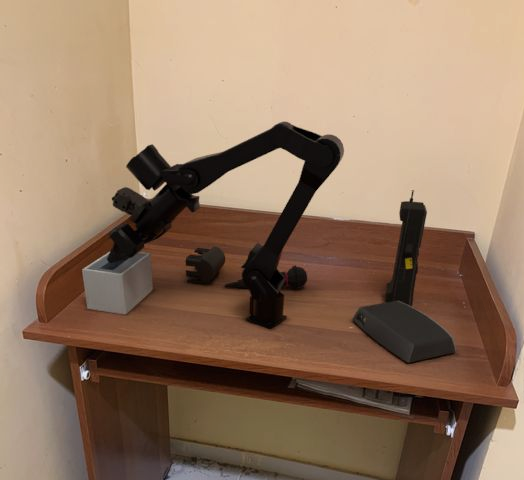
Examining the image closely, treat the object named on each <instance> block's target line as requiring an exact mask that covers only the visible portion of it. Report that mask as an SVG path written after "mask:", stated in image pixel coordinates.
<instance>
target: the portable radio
mask: <svg viewBox="0 0 524 480" xmlns="http://www.w3.org/2000/svg"><path fill="white" fill-rule="evenodd" d="M414 192H415V190H414V189H412V190H411V196H410V198H409V200H407V201H405V200H404V201H401V202H400V207H399V212H398V214H399V221H400V222H401V226H400V233H399V237H398V238H399V239H398V243H397V250H396V255H395V261H394V266H393V272H392V277H391V281H390V282H387V283H386V287H385V292H384V293H385V294H384V303H387V302H393V301H400V302H403V303H405V304H407V305H409V306H411V307H413V302H414V292H415V286H416V279H417V275H418V271H419V261H418V259H419V256H420V249H421V245H422V242H423V241H422V240H423V235H424V230H425V226H426V220H427V214H428V210H427V207H426V205H425V204H424V202H421V201H414V198H413V197H414Z"/></svg>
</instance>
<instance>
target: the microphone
mask: <svg viewBox="0 0 524 480" xmlns="http://www.w3.org/2000/svg"><path fill="white" fill-rule="evenodd" d="M280 272H281V274H282V275H283V276H284V277H285V278H286V281H285V283H284V285H283V287H286V286H288V287H290V288H293V289H294V290H295V291H296V290H299V289H300V288H303V287H304V286H305V285H306V284H307V282H308V273H307V271H306V270H305V268H304V267H300V266H297V265H292V267H290V268H289V269H288V270H287V272H286V271H280ZM224 288H237V289H249V288H248V287H247V286H246V285H245V283H244V282H243V279H242V278H240V279H237V280H236V281H231V282H228V283H225V284H224Z"/></svg>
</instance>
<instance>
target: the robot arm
mask: <svg viewBox="0 0 524 480" xmlns="http://www.w3.org/2000/svg"><path fill="white" fill-rule="evenodd" d="M278 149H282V150H284V151H286V152H288V153H289V154H291V155H293V156H294V157H296V158H297V159H299V160H302V161H304V162H303V165H302V169H301V172H300V176H299V179H298V182H297V184H296V185H295V188H294V189H293V191H292V193H291V195H290V196H289V199H288V200H287V202H286V204H285V206H284V208H283V209H282V210H281V211H282V212H281V213H280V215H279V216H278V219H277V221H276V222H275V224H274V225H273V228H272V230H271V231H270V233H269V234H268V237H267V238H266V240H265V242H264V243H263V244H261V243H260V242H259V241H256V243H255V244H254V246H253V247H252V248H251V249H250V250H249V253H248V256H247V259H245V261H244V262H243V264H242V265H241V266H240V268H241V269H242V272H241V279H243V282H244V283H245V285H246V286H247V287H248V288H247V289H248V290H249V294H250V297H249V306H248V307H249V308H248V314H249V315H248V316H247V317H246V318H245V320H246V322H250V323H253V324H256V325H259V326H261V327H264V328H267V329H273V328H274V327H276V326H277V325H279V324H280V323H283V322H284V321H285V320H287V317H288V315H286V314H284V306H285V305H284V304H285V294H284V293H282V291H281V290H282V288H283V287H284V286H283V285H284V283H285V281H286V278H285V277H284V276H283V275H282V274H281V272H282V271H280V270H279V269H278V267H279V263H280V261H281V258H282V254H283V250H284V248H285V246H286V244H287V243H288V241H289V239H290V237H291V236H292V234H293V232H294V230H296V229H295V228H296V227H297V225H298V224H299V221H300V220H301V218H302V217H303V215H304V213H305V211H306V210H307V208H308V206H309V204H310V203H311V201H312V200H313V197H314V196H315V194H316V192H317V191H318V190H319V189H320V187H321V186H322V185H323V184H324V183H325V182H326V181H327V179H328V178H329V177H330V175H332V173H333V172H334V171H335V170H336V168H337V167H338V166H339V165H340V162H341V161H342V159H343V157H344V154H345V148H344V143H343V142H342V140H341V139H340V138H339V137H338V136H337V135H334V134H324V135H321V134H319V133H317V132H313V131H310V130H308V129H304V128H302V127H299V126H296V125H294V124H292V123H291V122H289V121H280V122H278V123H276V124H274V125H273V126H272V127H271V128H269V129H267V130H265V131H262V132H260V133H258V134H257V135H254V136H252V137H250V138H248V139H246V140H243V141H242V142H240V143H238V144H236V145H234V146H232V147H230V148H228V149H225V150H223V151H219V152H215V153H211V154H206V155H202V156H199V157H195V158H193V159H191V160H189V161H186V162H184V163H176V164H174V165H172V166H171V164H169V162H168V161H167V160H166V159H165V158H164V157H163V155H162V154H161V153H160V152H159V150H158V149H157V148H156V146H155V145H154V144H148V145H146V147H145V148H144V149H142V150H141V151H140V152H139V153H137V154H136V155H135V156H133V157H132V158H131V159H130V160H129V161H128V162H127V164H126V166H125V167H126V169H127V170H128V171H129V172H130V173H131V174H132V176H133V177H134V178H135V179H136V180H137V181H138V182H139V183H140V184H141V186H142V187H143V188H144V189H145V190H146V191H150V190H151V189H152V190H153V191H157V190H158V189H159V188H161V187H162V186H163V185H164V184H165V185H164V186H163V187H162V188H161V189H160V190H159V191H158V192H157V193H156V194H155V195H154V196H153V197H152V198H150V200H148V199H147V198H146V197H145V196H144V195H142V194H140V193H139V192H137V191H135V190H133V189H132V188H130V187H127V186H125V187H122V188H119V189H118V190H117V191H116V192H115V194H114V196H112V197H111V201H112V206H113V207H114V208H115V209H118V210H119V211H121V212H122V213H125V214H127V215H129V218H128V219H129V220H130V222H131V223H132V224H134V228H136V229H134V228H133V227H132V226H131V225H130V224H129V223H124V222H121V223H120V224H118V225H116V226H115V227H113V229H111V231H110V232H109V233H108V237H109V238H110V240H112V242H113V244H112V246H111V249H110V251H109V252H110V253H109V255H108V257H107V261H108V262H109V263H113V262H116V261H119V260H123V259H126V258H132V257H133V256H135V255H136V254H137V253H139V252H142V250H143V249H145V244H148V243H151V242H153V241H155V240H159V238H161V237H163V236H164V235H165V234H166V233H168V232H169V231H170V230H171V229H172V223H173V222H174V221H175V220H176V218H177V217H178V216H179V215H180V214H182V212H183V211H184V210H185V209H186V208H187V209H188V210H189V211H190V212H191V213H195V212H196V211H198V210H199V209H200V208H201V205H200V198H201V197H200V195H195V194H198V193H200V192H202V191H203V190H205V189H206V188H208V187H210V186H211V185H212V184H214V183H215V182H217V181H218V180H219V179H221V178H222V177H224V176H225V175H226V174H227V173H229V172H231V171H233V170H235V169H237V168H240V167H241V166H243V165H246V164H248V163H250V162H252V161H255V160H256V159H259V158H261V157H263V156H265V155H267V154H270V153H272V152H274V151H276V150H278Z"/></svg>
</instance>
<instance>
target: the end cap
mask: <svg viewBox="0 0 524 480" xmlns="http://www.w3.org/2000/svg"><path fill="white" fill-rule="evenodd" d="M193 253H195V254H189V255H187V256H186V258H185V266H186V267H192V268H193V267H194V270H188V269H186V270H185V277H186V278H187V279H186V283H188V284H197V285H205V284H207V283H208V282H210V281H211V280H212V279H213V277H215V276H216V275H217V273H218V272H219V271H220V270H221V269H222V268H223V266H225V263H226V254H225V252H224V251H223V250H222V249H221V248H220V247H218V246H215V245H213V246H212V247H211V248H203V247H197V248H195V249H194V251H193Z"/></svg>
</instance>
